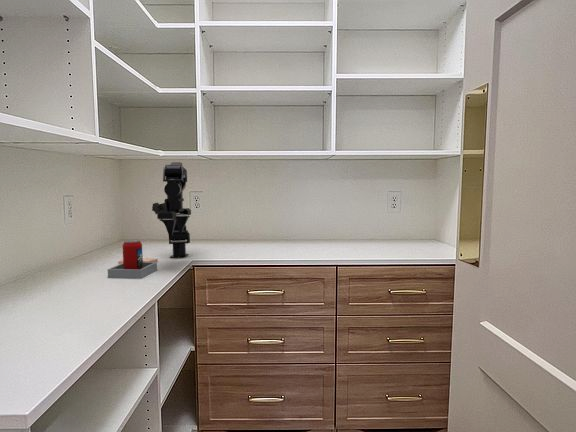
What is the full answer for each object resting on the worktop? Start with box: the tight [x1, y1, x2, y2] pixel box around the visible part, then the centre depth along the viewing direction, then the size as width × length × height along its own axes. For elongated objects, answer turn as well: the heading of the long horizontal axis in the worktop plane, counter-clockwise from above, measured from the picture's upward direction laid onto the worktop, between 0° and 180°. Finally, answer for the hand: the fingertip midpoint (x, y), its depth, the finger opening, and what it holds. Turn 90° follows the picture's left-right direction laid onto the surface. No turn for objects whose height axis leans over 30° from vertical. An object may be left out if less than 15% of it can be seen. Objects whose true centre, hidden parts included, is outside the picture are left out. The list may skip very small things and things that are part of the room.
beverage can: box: [122, 239, 144, 270], centre depth 138 cm, size 7×7×12 cm
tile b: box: [143, 257, 159, 263], centre depth 158 cm, size 6×6×1 cm
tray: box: [107, 261, 158, 280], centre depth 139 cm, size 13×13×3 cm
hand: (175, 234), depth 150 cm, fingers open, 9 cm apart
